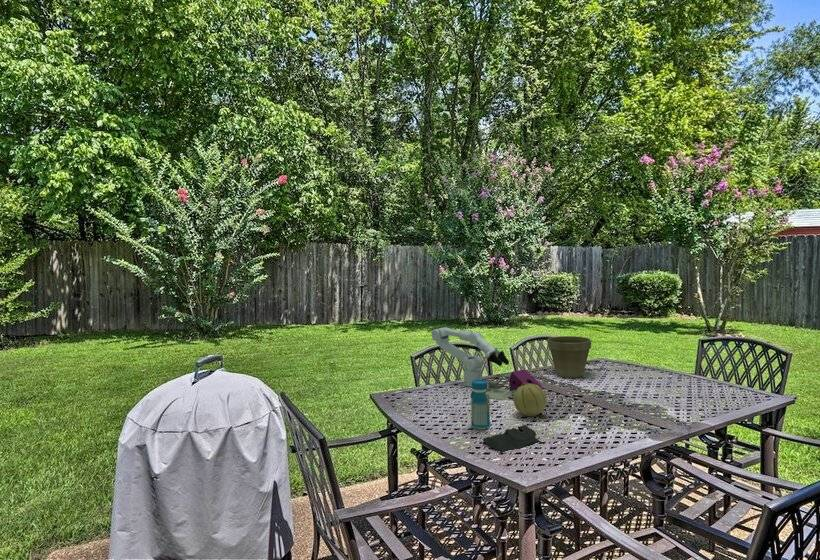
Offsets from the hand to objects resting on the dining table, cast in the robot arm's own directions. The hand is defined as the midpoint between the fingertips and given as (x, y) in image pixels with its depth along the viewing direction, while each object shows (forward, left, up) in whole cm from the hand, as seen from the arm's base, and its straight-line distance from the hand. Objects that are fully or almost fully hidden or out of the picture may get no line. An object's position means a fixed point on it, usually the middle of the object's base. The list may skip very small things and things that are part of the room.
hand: (504, 364), depth 263 cm
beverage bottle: (+12, -53, -15) cm, 57 cm away
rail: (-4, -10, -15) cm, 18 cm away
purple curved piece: (+9, +8, -15) cm, 20 cm away
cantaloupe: (+25, -29, -15) cm, 42 cm away
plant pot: (+19, +49, -15) cm, 55 cm away
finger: (-6, -2, -15) cm, 16 cm away
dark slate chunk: (+30, -62, -16) cm, 71 cm away
